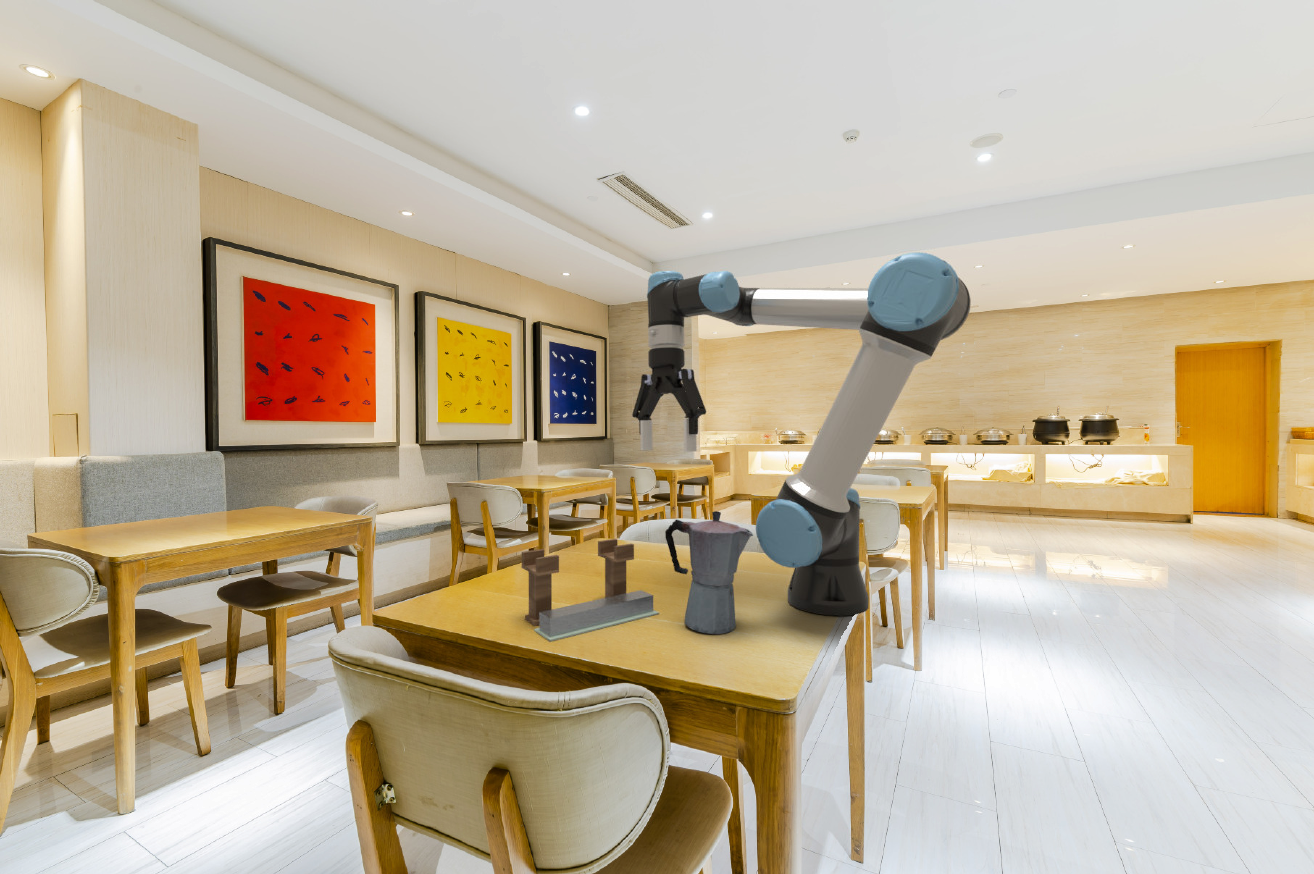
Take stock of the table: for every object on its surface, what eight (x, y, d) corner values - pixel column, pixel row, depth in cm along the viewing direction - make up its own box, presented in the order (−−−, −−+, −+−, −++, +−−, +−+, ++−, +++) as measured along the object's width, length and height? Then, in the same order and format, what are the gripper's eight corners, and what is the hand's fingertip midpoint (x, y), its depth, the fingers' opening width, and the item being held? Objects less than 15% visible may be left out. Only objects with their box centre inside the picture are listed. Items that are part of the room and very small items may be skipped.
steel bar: (653, 611, 102) (653, 595, 102) (550, 637, 90) (550, 618, 90) (640, 605, 106) (640, 590, 106) (539, 629, 93) (539, 612, 93)
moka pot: (752, 639, 89) (752, 516, 89) (658, 632, 92) (659, 513, 92) (753, 619, 99) (754, 508, 99) (668, 613, 102) (669, 505, 102)
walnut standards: (634, 605, 106) (634, 544, 106) (538, 628, 94) (537, 559, 94) (614, 597, 112) (614, 538, 112) (521, 617, 100) (521, 551, 100)
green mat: (659, 613, 102) (659, 612, 102) (550, 641, 88) (550, 639, 88) (640, 605, 107) (640, 604, 107) (534, 630, 93) (534, 628, 93)
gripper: (616, 354, 122) (617, 450, 122) (695, 338, 103) (697, 452, 103) (642, 357, 127) (643, 449, 127) (723, 342, 108) (724, 451, 108)
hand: (667, 451), depth 115 cm, fingers open, 13 cm apart
